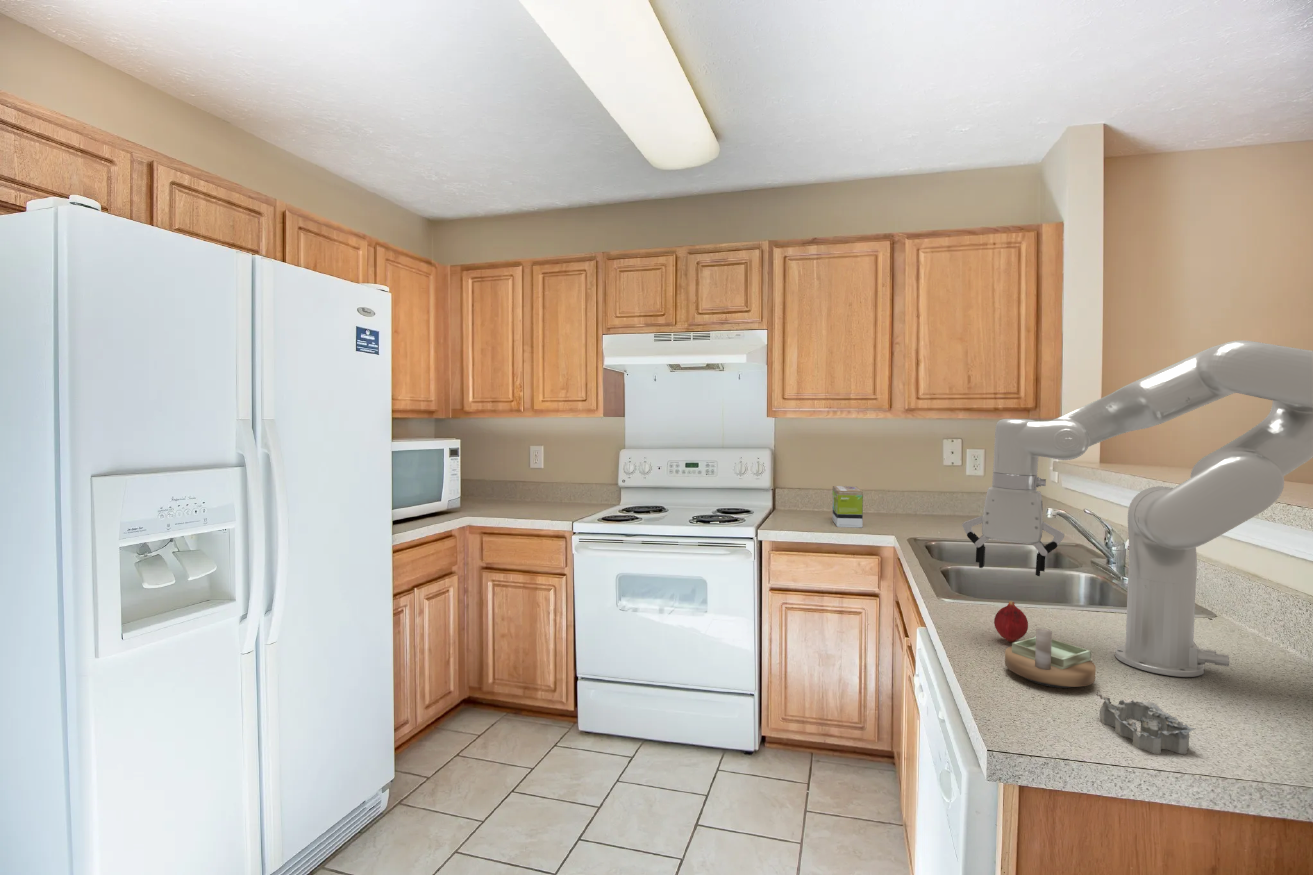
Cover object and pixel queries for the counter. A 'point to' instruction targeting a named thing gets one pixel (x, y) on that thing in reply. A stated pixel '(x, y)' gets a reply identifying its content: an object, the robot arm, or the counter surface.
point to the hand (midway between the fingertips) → (1009, 570)
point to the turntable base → (1048, 684)
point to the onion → (1011, 622)
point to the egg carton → (1146, 725)
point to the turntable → (1050, 661)
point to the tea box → (848, 506)
